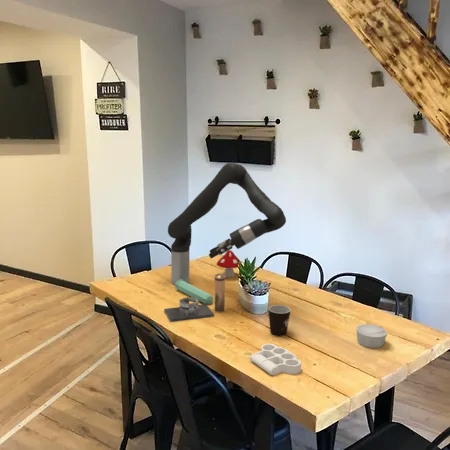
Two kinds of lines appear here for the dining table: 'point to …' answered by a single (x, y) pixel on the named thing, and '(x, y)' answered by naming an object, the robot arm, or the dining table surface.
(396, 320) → the dining table surface
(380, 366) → the dining table surface
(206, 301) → the container
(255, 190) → the robot arm
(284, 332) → the coffee mug
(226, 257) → the decorative mushroom
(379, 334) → the ramekin
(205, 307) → the stove plate
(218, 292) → the metal tube
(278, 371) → the grey compartment tray
